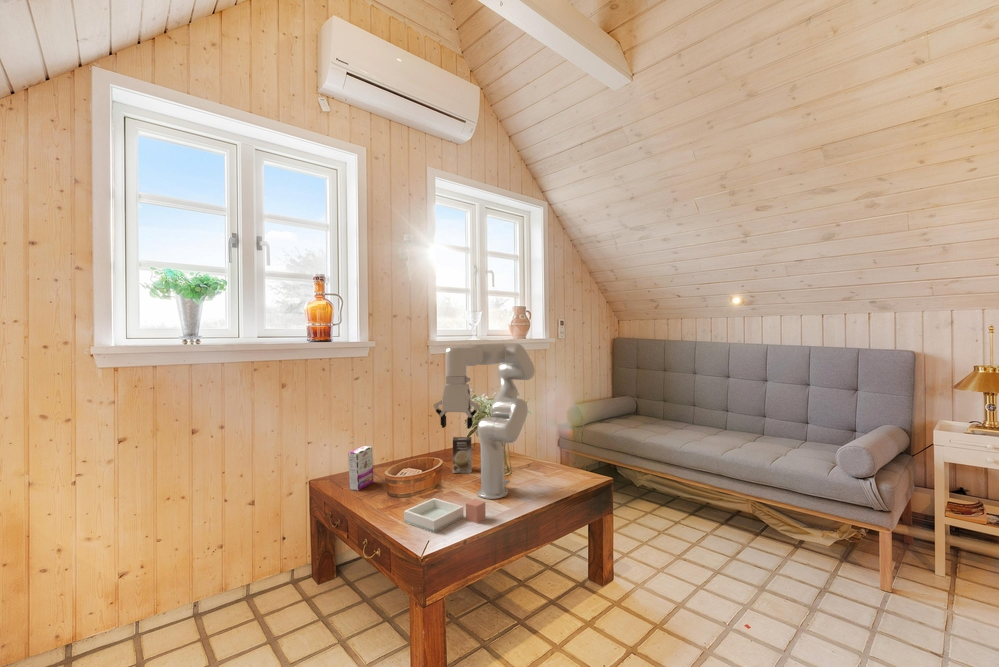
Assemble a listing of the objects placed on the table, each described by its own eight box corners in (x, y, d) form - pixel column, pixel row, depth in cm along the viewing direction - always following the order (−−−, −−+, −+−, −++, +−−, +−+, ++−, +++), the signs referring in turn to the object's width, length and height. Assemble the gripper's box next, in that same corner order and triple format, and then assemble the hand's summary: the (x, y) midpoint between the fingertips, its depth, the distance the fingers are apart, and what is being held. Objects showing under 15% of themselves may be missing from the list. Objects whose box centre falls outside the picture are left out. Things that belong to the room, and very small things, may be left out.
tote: (434, 508, 171) (433, 497, 171) (463, 517, 162) (463, 506, 162) (404, 522, 159) (403, 511, 159) (434, 533, 150) (433, 521, 150)
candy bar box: (364, 481, 204) (363, 445, 204) (373, 482, 202) (372, 446, 202) (348, 490, 193) (347, 452, 193) (358, 491, 191) (357, 452, 191)
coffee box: (452, 474, 212) (451, 440, 212) (453, 469, 218) (452, 437, 218) (471, 473, 212) (471, 439, 212) (472, 469, 219) (471, 436, 218)
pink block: (474, 515, 164) (474, 499, 164) (485, 518, 161) (485, 501, 161) (466, 520, 160) (465, 503, 160) (476, 523, 157) (476, 506, 157)
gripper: (481, 380, 166) (481, 426, 166) (437, 379, 169) (437, 424, 169) (476, 382, 159) (476, 430, 159) (430, 381, 162) (430, 429, 162)
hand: (456, 427), depth 164 cm, fingers open, 9 cm apart
